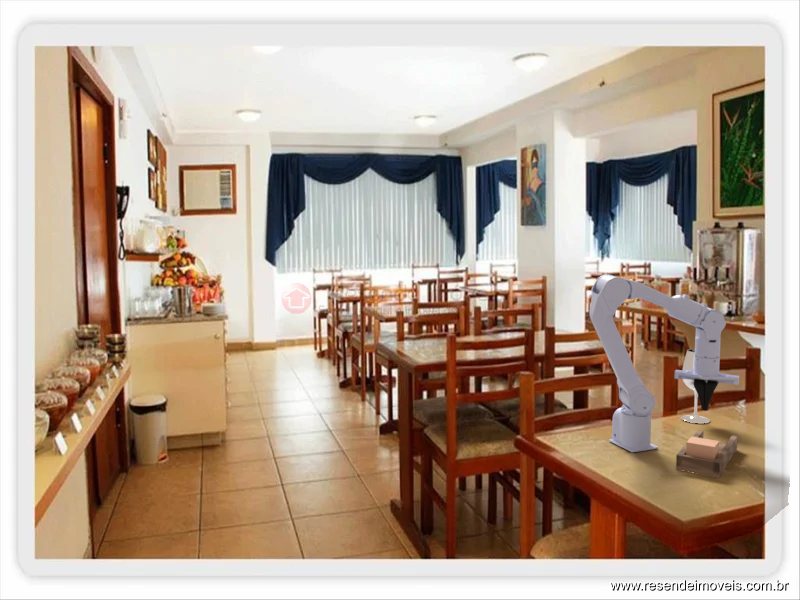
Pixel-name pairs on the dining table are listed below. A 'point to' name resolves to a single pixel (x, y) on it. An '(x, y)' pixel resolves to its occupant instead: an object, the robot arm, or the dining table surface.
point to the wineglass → (690, 366)
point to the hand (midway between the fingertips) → (705, 409)
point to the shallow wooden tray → (707, 465)
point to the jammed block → (702, 448)
